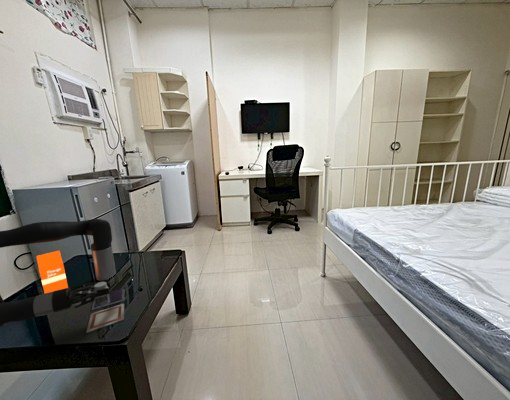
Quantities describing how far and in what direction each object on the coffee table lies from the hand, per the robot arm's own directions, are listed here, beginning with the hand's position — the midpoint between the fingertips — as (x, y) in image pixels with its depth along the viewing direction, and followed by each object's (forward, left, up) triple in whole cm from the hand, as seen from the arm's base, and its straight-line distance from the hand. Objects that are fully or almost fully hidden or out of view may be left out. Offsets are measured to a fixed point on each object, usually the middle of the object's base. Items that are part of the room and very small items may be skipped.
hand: (109, 287), depth 88 cm
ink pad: (-13, +5, -12) cm, 19 cm away
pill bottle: (-1, -2, -6) cm, 7 cm away
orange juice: (-48, -3, -13) cm, 50 cm away
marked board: (-1, -2, -12) cm, 13 cm away
